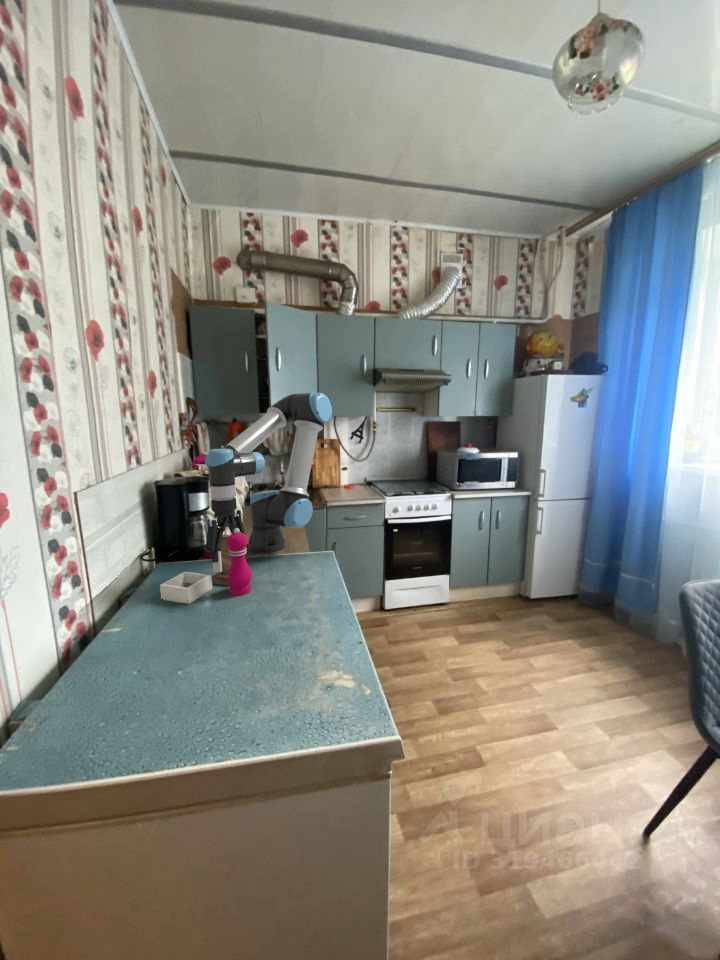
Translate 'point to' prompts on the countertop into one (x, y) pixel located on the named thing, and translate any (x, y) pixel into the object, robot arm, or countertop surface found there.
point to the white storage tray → (186, 587)
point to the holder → (220, 578)
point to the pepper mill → (238, 564)
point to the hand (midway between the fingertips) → (228, 564)
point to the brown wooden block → (225, 555)
